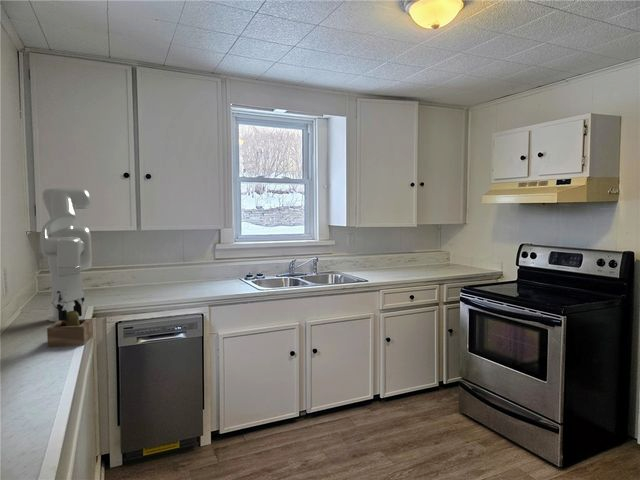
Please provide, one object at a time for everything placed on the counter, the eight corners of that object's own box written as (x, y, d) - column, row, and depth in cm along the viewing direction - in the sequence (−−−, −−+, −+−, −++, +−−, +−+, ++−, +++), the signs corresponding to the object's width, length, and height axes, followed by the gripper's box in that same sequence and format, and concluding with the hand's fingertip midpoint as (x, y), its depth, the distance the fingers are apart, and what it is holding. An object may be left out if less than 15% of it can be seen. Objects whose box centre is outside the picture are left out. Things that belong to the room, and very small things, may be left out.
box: (59, 337, 170) (58, 320, 169) (92, 336, 173) (92, 318, 172) (47, 347, 158) (47, 328, 158) (83, 345, 161) (83, 326, 161)
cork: (87, 334, 171) (82, 308, 168) (79, 341, 165) (74, 314, 162) (71, 335, 171) (66, 309, 168) (63, 342, 165) (57, 315, 162)
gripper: (78, 268, 173) (79, 312, 174) (41, 274, 156) (42, 323, 157) (94, 268, 171) (95, 313, 173) (58, 275, 155) (60, 324, 156)
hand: (70, 317), depth 165 cm, fingers open, 6 cm apart
